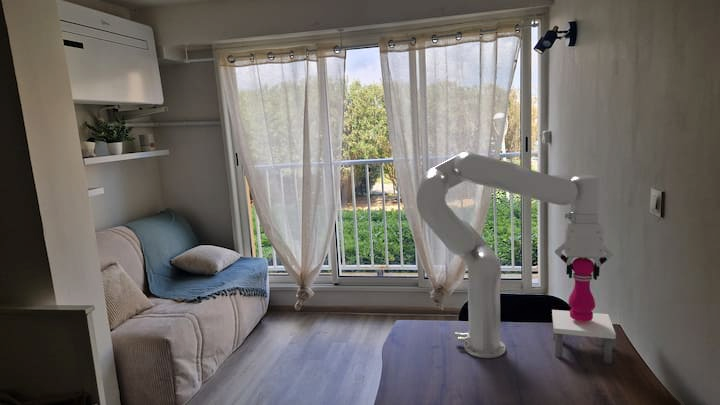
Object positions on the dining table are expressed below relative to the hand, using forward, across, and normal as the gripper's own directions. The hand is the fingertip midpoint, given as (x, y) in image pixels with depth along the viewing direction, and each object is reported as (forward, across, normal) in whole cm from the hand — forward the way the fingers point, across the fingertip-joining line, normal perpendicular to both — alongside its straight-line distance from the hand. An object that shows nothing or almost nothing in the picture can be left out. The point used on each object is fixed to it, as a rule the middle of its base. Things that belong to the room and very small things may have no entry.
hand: (582, 277), depth 136 cm
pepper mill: (+13, 0, 0) cm, 13 cm away
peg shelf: (+23, 0, 0) cm, 23 cm away
